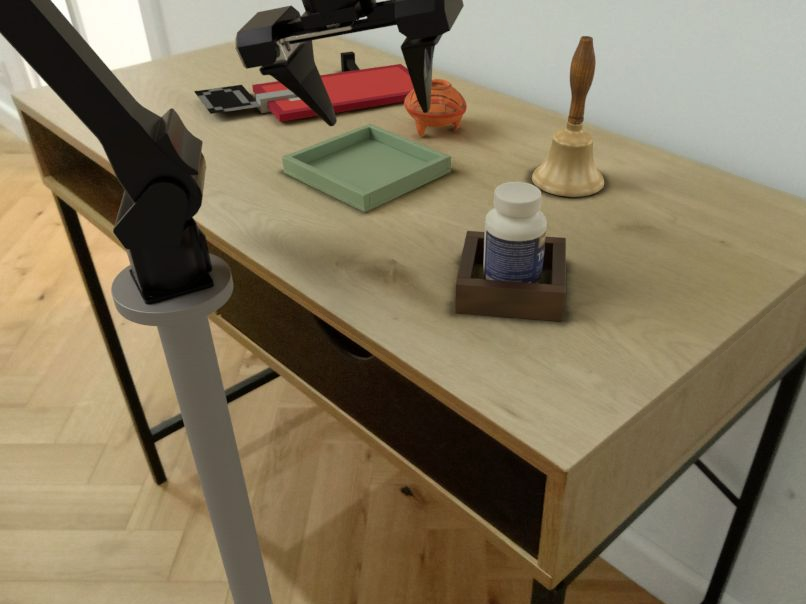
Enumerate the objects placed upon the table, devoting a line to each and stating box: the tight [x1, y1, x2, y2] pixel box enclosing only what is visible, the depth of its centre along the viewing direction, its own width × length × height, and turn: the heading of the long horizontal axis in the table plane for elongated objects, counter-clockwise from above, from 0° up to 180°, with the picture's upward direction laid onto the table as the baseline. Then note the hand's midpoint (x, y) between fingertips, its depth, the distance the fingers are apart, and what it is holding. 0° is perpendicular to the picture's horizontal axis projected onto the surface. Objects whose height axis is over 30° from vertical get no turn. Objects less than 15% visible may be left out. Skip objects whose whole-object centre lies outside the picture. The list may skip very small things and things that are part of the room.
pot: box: [403, 78, 468, 138], centre depth 98 cm, size 8×8×7 cm
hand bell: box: [531, 35, 605, 198], centre depth 84 cm, size 8×8×16 cm
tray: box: [281, 123, 452, 213], centre depth 89 cm, size 14×14×2 cm
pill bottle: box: [482, 181, 548, 284], centre depth 69 cm, size 5×5×10 cm
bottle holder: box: [454, 230, 567, 322], centre depth 71 cm, size 9×9×3 cm
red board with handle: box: [193, 51, 414, 122], centre depth 107 cm, size 30×3×15 cm
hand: (379, 117), depth 70 cm, fingers open, 9 cm apart
